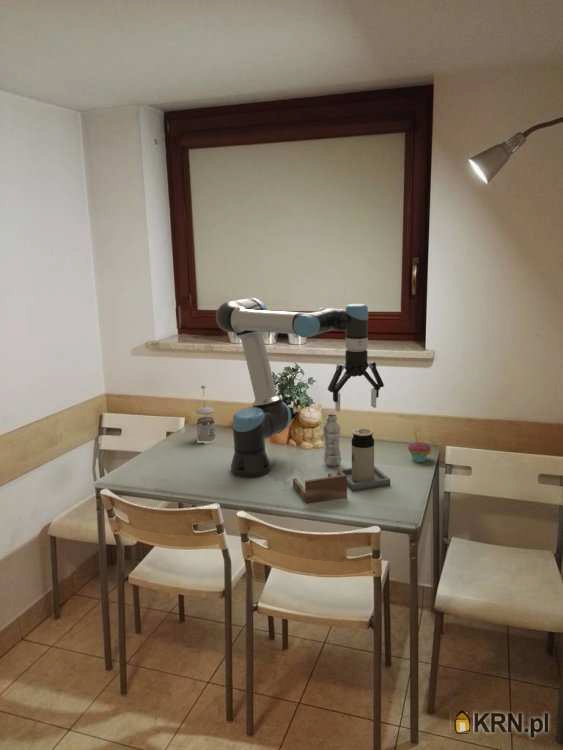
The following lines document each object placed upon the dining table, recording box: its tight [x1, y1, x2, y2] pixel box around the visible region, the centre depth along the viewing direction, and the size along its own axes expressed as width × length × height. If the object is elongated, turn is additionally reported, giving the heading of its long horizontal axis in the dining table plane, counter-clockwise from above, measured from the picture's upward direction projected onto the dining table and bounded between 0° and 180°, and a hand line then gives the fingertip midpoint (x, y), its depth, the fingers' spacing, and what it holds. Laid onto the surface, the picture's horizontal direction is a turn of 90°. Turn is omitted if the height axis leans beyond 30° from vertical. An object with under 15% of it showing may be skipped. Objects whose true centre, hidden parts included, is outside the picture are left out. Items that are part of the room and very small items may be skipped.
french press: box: [195, 385, 216, 441], centre depth 267 cm, size 10×12×25 cm
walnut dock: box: [292, 473, 348, 505], centre depth 212 cm, size 15×14×8 cm
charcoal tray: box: [336, 465, 391, 492], centre depth 221 cm, size 14×14×2 cm
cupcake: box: [407, 431, 432, 463], centre depth 238 cm, size 9×8×12 cm
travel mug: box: [351, 427, 375, 482], centre depth 219 cm, size 8×8×18 cm
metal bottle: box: [322, 413, 342, 467], centre depth 235 cm, size 6×7×20 cm
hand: (355, 408), depth 216 cm, fingers open, 13 cm apart
